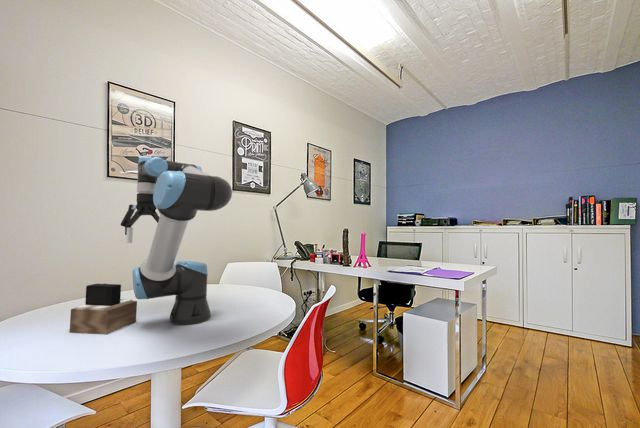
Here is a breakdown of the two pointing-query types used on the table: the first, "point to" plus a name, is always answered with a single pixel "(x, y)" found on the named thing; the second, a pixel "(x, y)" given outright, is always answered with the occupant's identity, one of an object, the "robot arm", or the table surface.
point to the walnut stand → (102, 317)
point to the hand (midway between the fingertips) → (144, 243)
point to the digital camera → (103, 294)
